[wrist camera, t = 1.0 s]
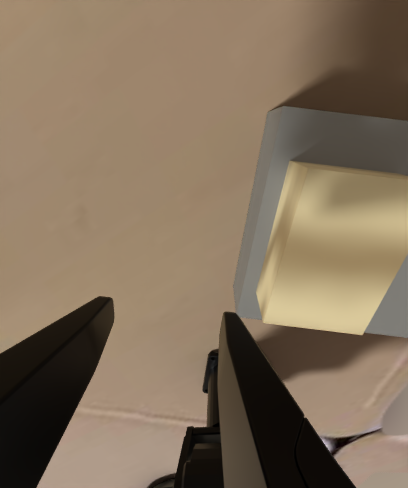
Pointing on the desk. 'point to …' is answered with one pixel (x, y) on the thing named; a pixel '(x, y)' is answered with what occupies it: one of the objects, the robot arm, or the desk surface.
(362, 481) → the desk surface
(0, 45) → the desk surface
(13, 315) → the desk surface
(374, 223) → the maple block
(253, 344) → the robot arm
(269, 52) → the desk surface
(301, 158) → the gray deck
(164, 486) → the electronic game
